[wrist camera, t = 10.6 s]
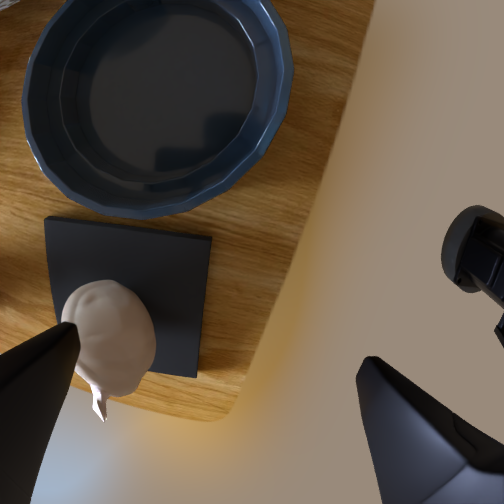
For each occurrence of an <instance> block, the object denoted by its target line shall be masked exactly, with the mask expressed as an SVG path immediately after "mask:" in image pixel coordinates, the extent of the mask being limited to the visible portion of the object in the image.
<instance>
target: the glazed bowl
mask: <svg viewBox="0 0 504 504" xmlns="http://www.w3.org/2000/svg"><path fill="white" fill-rule="evenodd" d="M293 76H294V64H293V58H292V52H291V47H290V41H289V36H288V30H287V28H286V26H285V24H284V22H283V21H282V19H281V17H280V16H279V14H278V12H277V11H276V9H275V8H274V6H273V4H272V3H271V1H270V0H67V1H66V2H65V4H64V5H63V6H62V7H61V8H60V9H59V10H58V12H57V13H56V14H55V15H54V16H53V17H52V19H51V20H50V21H49V22H48V23H47V25H46V26H45V28H44V30H43V32H42V34H41V36H40V38H39V40H38V42H37V44H36V46H35V48H34V50H33V52H32V54H31V57H30V59H29V61H28V64H27V69H26V75H25V80H24V86H23V93H22V100H21V101H22V102H21V103H22V112H23V120H24V128H25V134H26V138H27V142H28V144H29V146H30V148H31V150H32V152H33V155H34V157H35V159H36V161H37V163H38V165H39V167H40V169H41V171H42V172H43V173H44V174H45V175H46V176H47V177H48V178H49V180H50V181H51V182H52V183H53V184H54V185H55V186H56V187H57V188H58V189H59V190H60V191H61V192H62V193H63V194H64V195H65V196H66V197H67V198H69V199H71V200H73V201H75V202H77V203H79V204H81V205H83V206H85V207H87V208H89V209H91V210H93V211H95V212H97V213H100V214H102V215H106V216H114V217H122V218H130V219H138V220H147V219H152V218H157V217H163V216H168V215H173V214H178V213H184V212H187V211H190V210H192V209H193V208H195V207H197V206H199V205H201V204H203V203H205V202H207V201H209V200H210V199H212V198H214V197H216V196H218V195H220V194H222V193H224V192H226V191H228V190H229V189H230V188H231V187H232V186H233V185H234V184H235V183H236V182H237V181H238V180H239V179H240V178H242V177H243V176H244V175H245V174H246V173H247V172H248V171H249V170H250V169H251V168H252V167H253V166H254V165H255V164H256V163H257V162H258V161H259V160H260V159H261V158H262V157H263V156H264V154H265V153H266V151H267V149H268V147H269V145H270V143H271V142H272V140H273V138H274V136H275V134H276V133H277V131H278V129H279V127H280V125H281V124H282V122H283V120H284V118H285V116H286V114H287V109H288V103H289V98H290V92H291V87H292V81H293Z"/></svg>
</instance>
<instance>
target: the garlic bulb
mask: <svg viewBox="0 0 504 504" xmlns="http://www.w3.org/2000/svg"><path fill="white" fill-rule="evenodd" d="M64 321H67V322H71V323H75V324H76V325H77V328H78V333H79V338H80V343H81V350H80V354H79V357H78V360H77V363H76V366H75V371H76V373H77V374H79V375H80V376H81V377H82V378H83V379H84V380H85V381H86V382H87V383H88V384H89V385H90V386H91V389H92V392H93V396H94V403H93V409H94V410H95V412H96V413H97V414H98V415H99V417H100V418H101V419H102V420H103V421H104V422H105V419H107V414H106V400H107V399H108V398H109V397H110V396H113V397H122V396H125V395H129V394H131V393H133V392H134V391H135V390H136V389H137V387H138V385H139V383H140V381H141V378H142V377H143V376H144V375H145V373H146V372H147V371H148V370H149V368H150V367H151V365H152V363H153V360H154V357H155V352H156V338H155V333H154V326H153V323H152V320H151V317H150V315H149V313H148V311H147V309H146V307H145V306H144V304H143V303H142V301H141V300H140V298H139V297H138V296H137V295H136V294H135V293H134V292H133V291H131V290H130V289H128V288H126V287H125V286H123V285H121V284H119V283H118V282H116V281H113V280H101V281H95V282H91V283H88V284H86V285H83V286H81V287H79V288H78V289H77V290H75V291H74V292H73V293H72V294H71V295H70V297H69V298H68V300H67V301H66V303H65V306H64V308H63V312H62V318H61V322H64Z"/></svg>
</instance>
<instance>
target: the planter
mask: <svg viewBox="0 0 504 504" xmlns="http://www.w3.org/2000/svg"><path fill="white" fill-rule="evenodd" d="M19 1H20V0H0V11H1V10H4V9H6V8H8V7H10V6H12V5H13V4H15V3H17V2H19Z"/></svg>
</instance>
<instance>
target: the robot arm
mask: <svg viewBox="0 0 504 504" xmlns="http://www.w3.org/2000/svg"><path fill="white" fill-rule="evenodd" d="M458 279H459V280H458ZM453 282H454V284H456V285H457V286H464V287H473V288H480V289H481V290H482V291H483V292H485V293H486V294H487V295H488V296H489V297H490V298H492V299H493V300H494V301H495V302H496V303H497V304H499V305H500V306H501V307H502V308H503V309H504V224H501V223H499V222H496V221H493V220H491V219H488V218H485V217H482V216H480V215H477V216H476V217H475V219H474V222H473V225H472V228H471V232H470V235H469V238H468V241H467V244H466V247H465V249H464V252H463V255H462V258H461V260H460V263H459V266H458V268H457V271H456V274H455V276H454V279H453ZM494 332H495V334H496V335H497V337H498V339H499V341H500V342H501V344H502V346H503V348H504V313H503V315H502V317H501V319H500V321H499V323H498V325H496V328H495V330H494ZM80 350H81V343H80V338H79V333H78V328H77V325H76V324H75V323H71V322H67V321H64V322H61V323H59V324H58V325H56V326H54V327H52V328H50V329H48V330H46V331H44V332H42V333H40V334H38V335H37V336H35V337H33V338H31V339H29V340H27V341H25V342H23V343H21V344H20V345H18V346H16V347H14V348H12V349H10V350H8V351H7V352H5V353H3V354H1V355H0V504H30V501H31V497H32V493H33V490H34V486H35V483H36V479H37V476H38V473H39V470H40V466H41V463H42V460H43V457H44V453H45V451H46V448H47V445H48V442H49V439H50V437H51V434H52V431H53V428H54V426H55V423H56V420H57V418H58V415H59V412H60V410H61V408H62V405H63V402H64V400H65V397H66V395H67V392H68V390H69V386H70V383H71V380H72V376H73V373H74V370H75V366H76V363H77V360H78V357H79V354H80ZM356 385H357V391H358V397H359V404H360V410H361V416H362V421H363V425H364V429H365V433H366V437H367V441H368V445H369V448H370V453H371V456H372V461H373V465H374V469H375V473H376V477H377V481H378V486H379V490H380V494H381V500H382V504H504V445H503V444H501V443H500V442H498V441H497V440H495V439H493V438H491V437H490V436H488V435H486V434H485V433H483V432H482V431H480V430H478V429H477V428H475V427H474V426H472V425H471V424H469V423H468V422H466V421H465V420H463V419H462V418H460V417H459V416H458V415H457V414H455V413H453V412H452V411H451V410H450V409H448V408H447V407H446V406H444V405H443V404H441V403H440V402H438V401H437V400H436V399H435V398H433V397H432V396H431V395H429V394H428V393H426V392H425V391H423V390H422V389H421V388H420V387H418V386H417V385H416V384H414V383H413V382H412V381H410V380H409V379H408V378H406V377H405V376H403V375H402V374H401V373H399V372H398V371H397V370H395V369H394V368H393V367H391V366H390V365H389V364H387V363H386V362H385V361H383V360H382V359H381V358H379V357H377V356H368V357H366V358H365V359H364V361H363V363H362V365H361V367H360V369H359V371H358V373H357V375H356Z"/></svg>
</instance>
